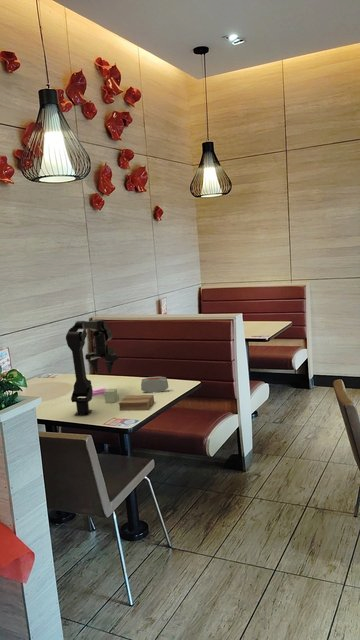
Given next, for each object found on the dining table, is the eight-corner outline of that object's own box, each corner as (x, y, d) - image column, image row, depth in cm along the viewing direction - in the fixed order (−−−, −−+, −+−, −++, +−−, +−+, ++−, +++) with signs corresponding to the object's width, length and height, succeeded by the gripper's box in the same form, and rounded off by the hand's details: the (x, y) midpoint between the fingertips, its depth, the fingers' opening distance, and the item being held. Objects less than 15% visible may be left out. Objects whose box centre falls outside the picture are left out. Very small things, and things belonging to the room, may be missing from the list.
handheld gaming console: (168, 390, 273) (167, 375, 272) (168, 391, 270) (167, 377, 269) (141, 392, 274) (140, 377, 273) (141, 393, 271) (139, 379, 270)
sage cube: (114, 402, 259) (113, 391, 258) (105, 403, 260) (104, 391, 259) (118, 399, 264) (116, 388, 263) (108, 400, 265) (107, 388, 264)
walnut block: (147, 410, 243) (147, 402, 243) (119, 411, 246) (118, 403, 246) (154, 402, 255) (153, 395, 254) (127, 403, 258) (126, 395, 257)
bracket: (86, 397, 273) (85, 385, 272) (83, 395, 278) (81, 383, 277) (109, 392, 279) (107, 380, 278) (105, 390, 284) (104, 378, 283)
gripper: (124, 341, 267) (126, 370, 269) (98, 340, 278) (100, 368, 280) (109, 345, 258) (112, 375, 260) (83, 344, 269) (86, 373, 271)
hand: (103, 372), depth 268 cm, fingers open, 9 cm apart
